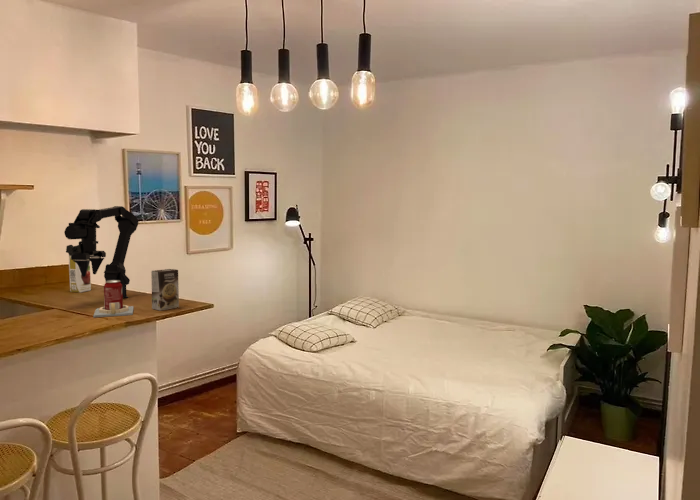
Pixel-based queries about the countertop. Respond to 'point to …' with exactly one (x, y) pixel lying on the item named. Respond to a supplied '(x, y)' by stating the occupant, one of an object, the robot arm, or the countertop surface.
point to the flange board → (113, 311)
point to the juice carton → (78, 278)
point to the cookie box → (165, 289)
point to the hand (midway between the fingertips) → (89, 275)
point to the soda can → (113, 294)
